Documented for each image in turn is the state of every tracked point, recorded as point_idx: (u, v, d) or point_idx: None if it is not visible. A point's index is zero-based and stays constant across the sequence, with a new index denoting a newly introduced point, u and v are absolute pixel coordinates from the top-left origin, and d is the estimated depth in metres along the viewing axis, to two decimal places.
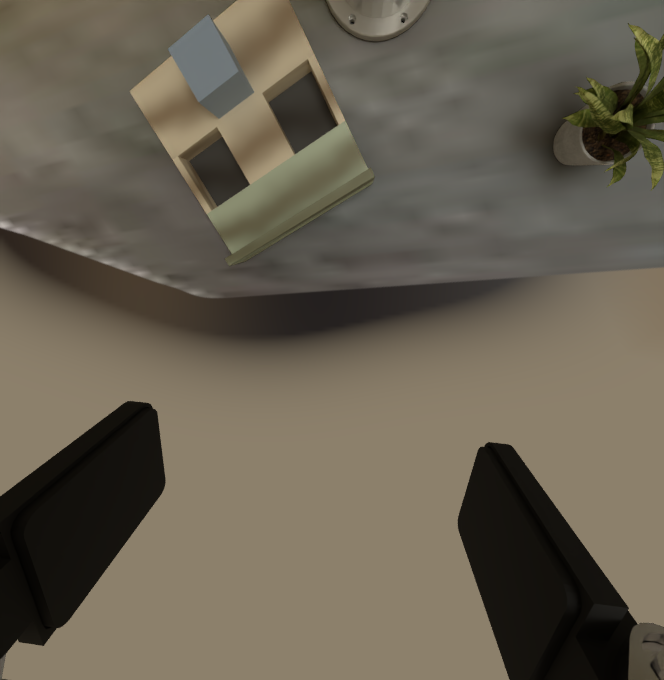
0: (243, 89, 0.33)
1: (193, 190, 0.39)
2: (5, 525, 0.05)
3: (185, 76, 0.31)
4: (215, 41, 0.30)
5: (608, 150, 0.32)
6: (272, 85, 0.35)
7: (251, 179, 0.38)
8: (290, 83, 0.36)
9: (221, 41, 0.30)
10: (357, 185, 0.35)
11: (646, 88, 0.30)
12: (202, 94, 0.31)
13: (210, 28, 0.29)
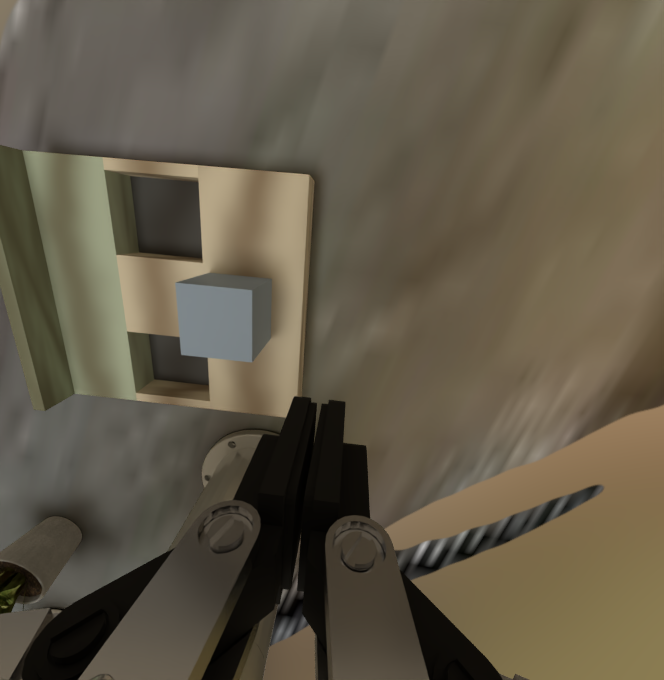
0: None
1: (143, 163, 0.22)
2: (285, 497, 0.06)
3: (211, 288, 0.20)
4: (223, 350, 0.21)
5: None
6: None
7: (121, 261, 0.25)
8: None
9: (219, 357, 0.22)
10: (29, 388, 0.26)
11: (33, 602, 0.35)
12: (180, 294, 0.20)
13: (238, 354, 0.21)
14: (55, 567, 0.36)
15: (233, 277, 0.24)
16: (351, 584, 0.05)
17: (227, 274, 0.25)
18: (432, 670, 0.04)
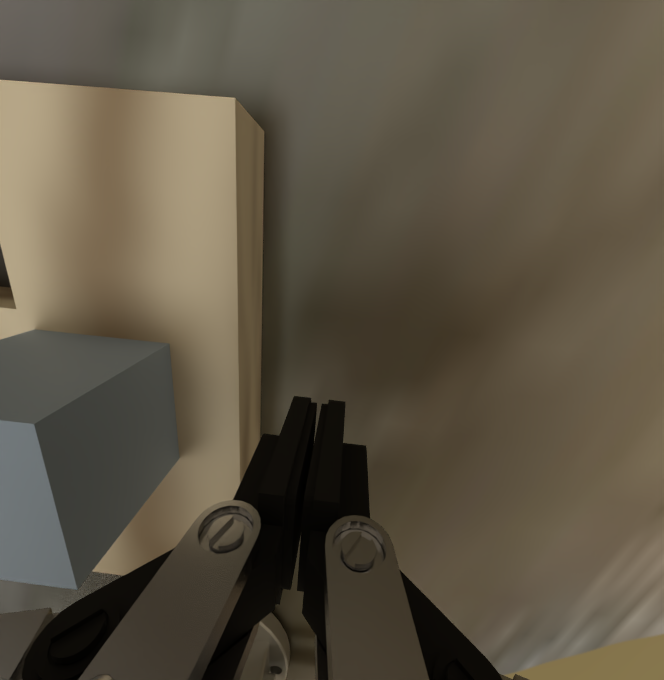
0: None
1: None
2: (285, 497, 0.06)
3: None
4: None
5: None
6: None
7: None
8: None
9: None
10: None
11: None
12: None
13: (38, 572, 0.08)
14: None
15: (71, 346, 0.10)
16: (351, 584, 0.05)
17: (72, 333, 0.11)
18: (432, 670, 0.04)
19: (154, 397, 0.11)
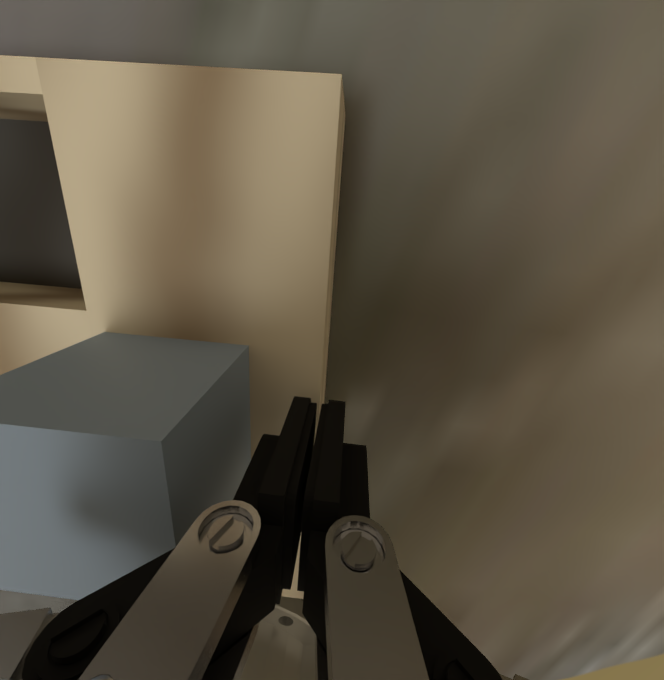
0: None
1: None
2: (285, 497, 0.06)
3: (28, 433, 0.06)
4: (99, 586, 0.07)
5: None
6: None
7: None
8: None
9: None
10: None
11: None
12: None
13: None
14: None
15: (151, 349, 0.10)
16: (351, 584, 0.05)
17: (145, 336, 0.11)
18: (432, 670, 0.04)
19: (238, 403, 0.10)
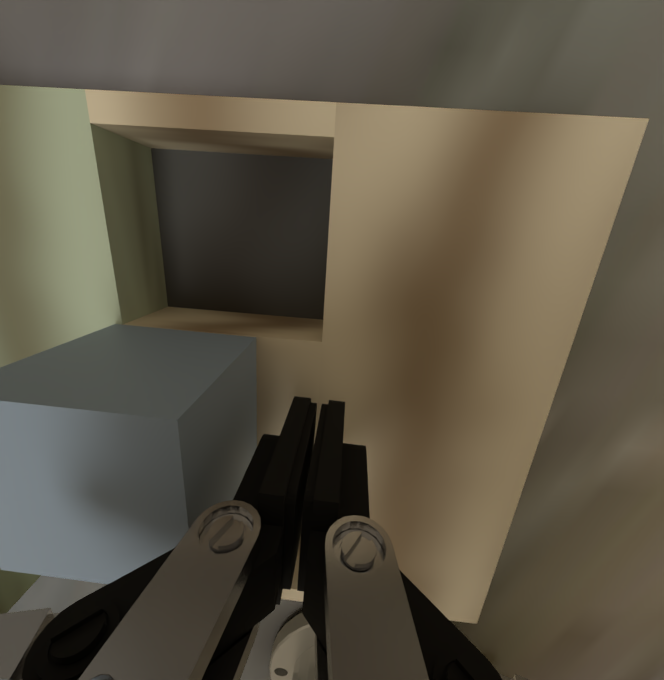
0: None
1: (191, 102, 0.09)
2: (285, 497, 0.06)
3: (48, 412, 0.06)
4: (111, 567, 0.07)
5: None
6: None
7: None
8: None
9: (105, 580, 0.08)
10: None
11: None
12: None
13: None
14: None
15: (162, 340, 0.10)
16: (351, 584, 0.05)
17: None
18: (432, 670, 0.04)
19: (245, 393, 0.10)
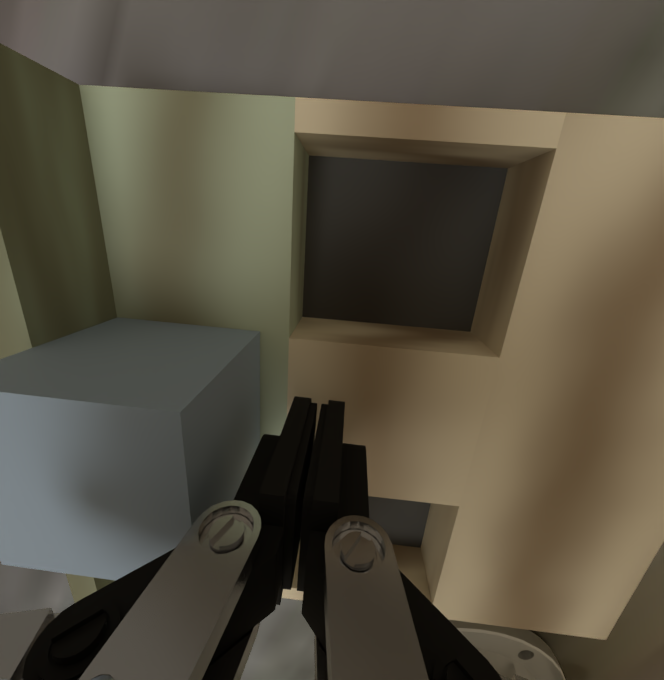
0: None
1: (408, 112, 0.08)
2: (286, 497, 0.06)
3: (49, 404, 0.06)
4: (113, 562, 0.07)
5: None
6: (452, 532, 0.13)
7: (299, 352, 0.11)
8: (432, 521, 0.15)
9: (106, 575, 0.08)
10: None
11: None
12: None
13: None
14: None
15: (164, 333, 0.10)
16: (350, 584, 0.05)
17: (158, 321, 0.11)
18: (431, 670, 0.04)
19: (249, 388, 0.10)
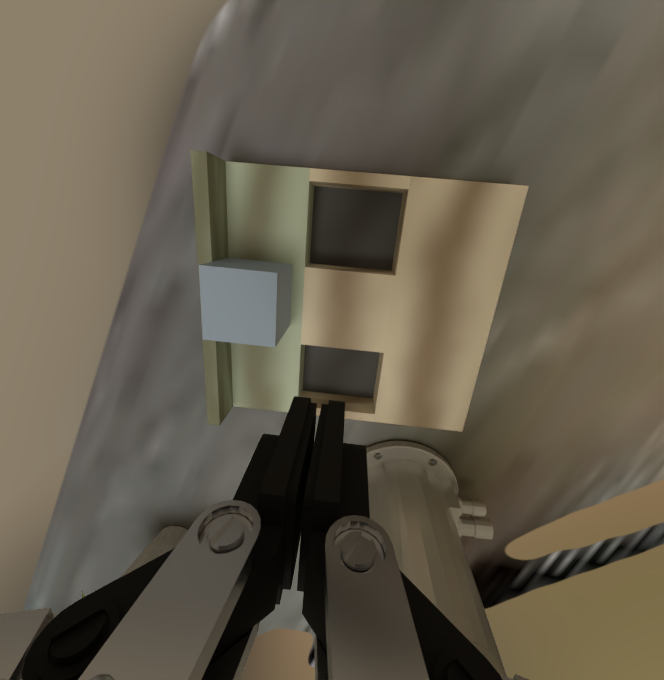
0: None
1: (352, 174, 0.22)
2: (285, 497, 0.06)
3: (236, 271, 0.20)
4: (245, 335, 0.21)
5: None
6: (381, 368, 0.27)
7: (309, 274, 0.24)
8: (377, 376, 0.29)
9: (242, 342, 0.21)
10: (208, 403, 0.25)
11: None
12: (203, 276, 0.20)
13: (261, 339, 0.21)
14: None
15: (254, 262, 0.23)
16: (351, 584, 0.05)
17: None
18: (432, 670, 0.04)
19: (288, 286, 0.24)
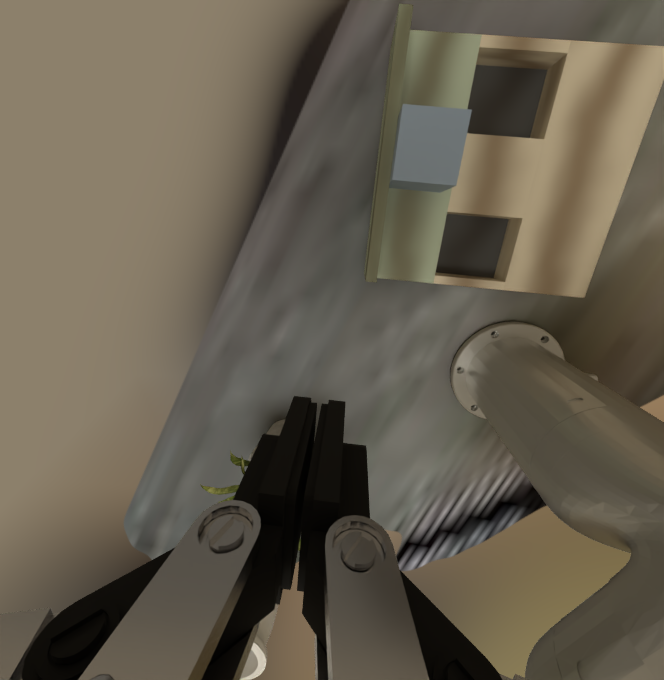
0: None
1: (519, 39, 0.25)
2: (285, 497, 0.06)
3: (435, 109, 0.23)
4: (431, 174, 0.24)
5: None
6: (518, 234, 0.30)
7: None
8: (503, 252, 0.32)
9: (427, 181, 0.24)
10: (370, 259, 0.29)
11: None
12: (405, 115, 0.23)
13: (445, 178, 0.24)
14: None
15: None
16: (351, 584, 0.05)
17: None
18: (432, 670, 0.04)
19: None
